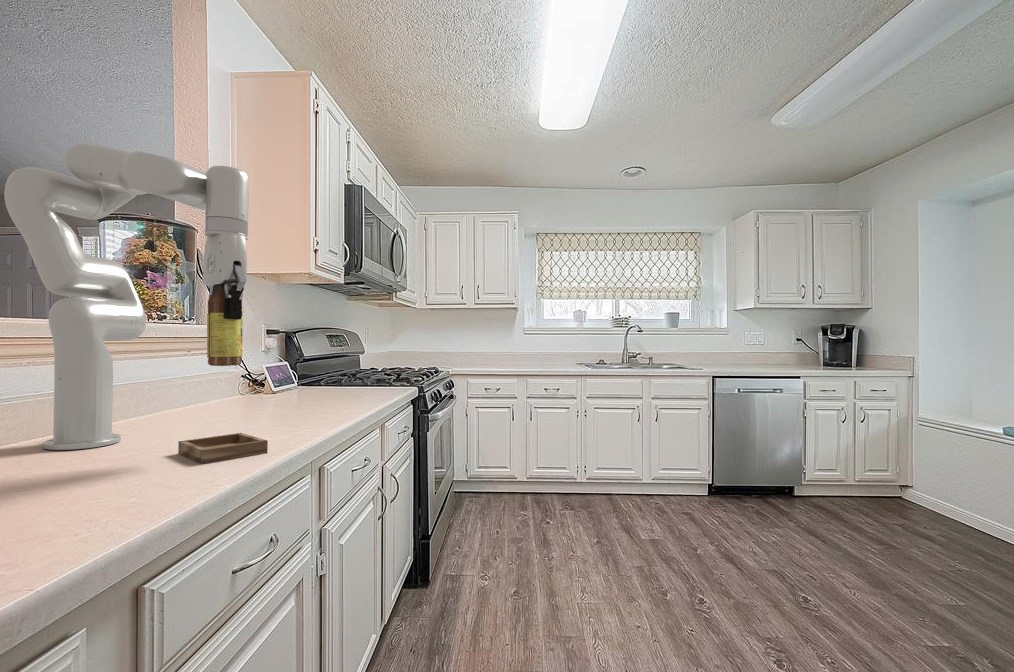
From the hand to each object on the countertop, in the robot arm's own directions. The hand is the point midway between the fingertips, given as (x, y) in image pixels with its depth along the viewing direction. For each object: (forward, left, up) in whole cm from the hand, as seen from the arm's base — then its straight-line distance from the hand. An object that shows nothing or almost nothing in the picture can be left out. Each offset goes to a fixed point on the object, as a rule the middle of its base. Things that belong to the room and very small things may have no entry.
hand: (225, 318), depth 100 cm
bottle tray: (0, 0, -27) cm, 27 cm away
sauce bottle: (0, 0, -10) cm, 10 cm away
